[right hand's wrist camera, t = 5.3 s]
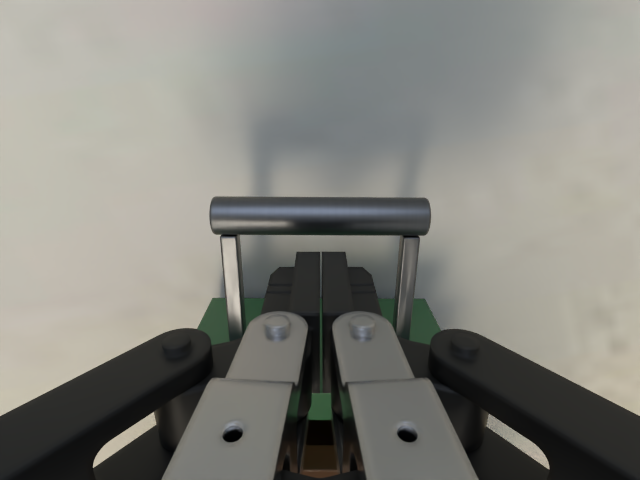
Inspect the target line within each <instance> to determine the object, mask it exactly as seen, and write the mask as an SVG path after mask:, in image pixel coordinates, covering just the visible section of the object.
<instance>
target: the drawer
mask: <svg viewBox="0 0 640 480" xmlns="http://www.w3.org/2000/svg"><path fill="white" fill-rule="evenodd" d="M430 223H431V209H430V204H429V201H428V199H426V198H376V197H214V198H213V199H212V201H211V205H210V225H211V229H212V232H213V233H214V234H216V235H221V237H220V242H221V253H222V265H223V276H224V287H225V298H212V300H211V302H210V304H209V306H208V308H207V310H206V312H205V314H204V316H203V318H202V320H201V322H200V324H199V326H198V328H197V329H198V330H201V331H203V332H205V333H206V334H208V336H209V337H210V339H211V345H215V344H220V343H224V342H229V341H233V340H236V339H239V338H241V337H243V336H244V333H245V331H246V329H247V326H248V325H249V323H250V322H251V321H252V320H253V319H254V318H256V317H258V316H260V314H261V311H262V307H263V303H264V299H265V298H244V288H243V274H242V260H241V245H240V235H400V244H399V255H398V267H397V279H396V290H395V299H378V301H379V305H380V309H381V312H382V316H383V317H384V318H386V319H387V320H388V321H389V322H390V323H391V325H392V326H393V329H394V331H395V333H396V335H398V336H400V337H402V338H404V339H407V340H410V341H414V342H419V343H424V344H429V345H430V342H431V339H432V337H433V336H434V335H435V334H436V333H438V332H440V331H441V330H440V328H439V326H438V324H437V322H436V320H435V318H434V316H433V314H432V312H431V310H430V308H429V306H428V304H427V302H426V300H425V299H414V290H415V280H416V271H417V261H418V252H419V243H420V237H419V236H424V235H426V234H427V233H428V231H429V228H430ZM306 445H334V440H333V433H332V425H331V393H323V380H322V298H320V393H312V403H311V408H310V410H309V425H308V433H307V440H306Z"/></svg>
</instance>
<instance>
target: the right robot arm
mask: <svg viewBox="0 0 640 480" xmlns="http://www.w3.org/2000/svg"><path fill="white" fill-rule="evenodd" d="M322 380H323V393H331V425H332V433H333V440H334V448H335V456H336V464H337V472H338V475H334V476H330V477H325V478H315V477H310V476H306V475H302V472H303V464H304V456H305V448H306V440H307V433H308V425H309V410H310V408H311V403H312V393H320V252H297V254H296V261H295V267H279V268H278V269H277V270H276V271H275V272H274V273H272V274H271V276H270V280H269V284H268V287H267V291H266V295H265V299H264V303H263V307H262V311H261V314H260V316H258V317H256V318H254V319H253V320H252V321H251V322H250V323H249V325H248V326H247V329H246V331H245V333H244V336H243V337H241V338H239V339H236V340H233V341H229V342H224V343H220V344H215V345H211V339H210V337H209V336H208V334H206V333H205V332H203V331H201V330H198V329H192V328H183V329H176V330H172V331H168V332H165V333H163V334H161V335H159V336H157V337H155V338H153V339H151V340H149V341H147V342H145V343H143V344H141V345H139V346H137V347H135V348H133V349H131V350H129V351H127V352H125V353H123V354H121V355H119V356H117V357H115V358H113V359H111V360H110V361H108V362H106V363H104V364H102V365H100V366H98V367H96V368H94V369H92V370H90V371H88V372H86V373H84V374H82V375H80V376H78V377H76V378H74V379H72V380H70V381H68V382H66V383H64V384H63V385H61V386H59V387H57V388H55V389H53V390H51V391H49V392H47V393H45V394H43V395H41V396H39V397H37V398H35V399H33V400H31V401H29V402H27V403H25V404H23V405H21V406H19V407H17V408H15V409H14V410H12V411H10V412H8V413H6V414H4V415H2V416H0V480H640V416H638V415H636V414H634V413H632V412H630V411H628V410H626V409H625V408H623V407H621V406H619V405H617V404H615V403H613V402H611V401H609V400H607V399H605V398H603V397H601V396H599V395H597V394H595V393H593V392H591V391H589V390H587V389H585V388H583V387H581V386H579V385H577V384H576V383H574V382H572V381H570V380H568V379H566V378H564V377H562V376H560V375H558V374H556V373H554V372H552V371H550V370H548V369H546V368H544V367H542V366H540V365H538V364H536V363H534V362H532V361H530V360H529V359H527V358H525V357H523V356H521V355H519V354H517V353H515V352H513V351H511V350H509V349H507V348H505V347H503V346H501V345H499V344H497V343H495V342H493V341H491V340H489V339H487V338H485V337H483V336H481V335H479V334H477V333H474V332H471V331H467V330H461V329H448V330H443V331H440V332H438V333H436V334H435V335H434V336H433V337H432V339H431V342H430V345H429V344H424V343H419V342H414V341H410V340H407V339H404V338H402V337H400V336H398V335H396V333H395V331H394V329H393V326H392V325H391V323H390V322H389V321H388V320H387V319H386V318H384V317H383V316H382V312H381V309H380V305H379V301H378V297H377V294H376V290H375V286H374V283H373V279H372V275H371V274H370V273H369V272H367V271H366V270H365V269H364V268H363V267H347V260H346V253H345V252H322ZM152 412H154V414H155V419H156V424H157V425H155V426H154V427H152V428H151V429H150V430H148V431H147V432H145V433H144V434H142V435H141V436H139V437H138V438H136V439H135V440H134V441H132V442H131V443H129V444H128V445H126V446H125V447H123V448H122V449H121V450H119V451H118V452H116V453H115V454H113V455H112V456H110V457H109V458H107V459H106V460H105V461H103V462H102V463H100V464H99V465H97V466H96V467H94V468H93V462H94V459H95V457H96V455H97V453H98V452H99V450H100V449H101V448H102V447H103V446H104V445H105V444H106V443H107V442H109V441H110V440H111V439H113V438H114V437H116V436H117V435H119V434H120V433H122V432H123V431H125V430H127V429H128V428H130V427H131V426H133V425H134V424H136V423H137V422H139V421H140V420H142V419H143V418H145V417H146V416H148V415H149V414H151V413H152ZM488 414H491V415H492V416H494V417H495V418H497V419H498V420H500V421H501V422H503V423H504V424H506V425H507V426H509V427H510V428H512V429H513V430H515V431H517V432H518V433H520V434H521V435H523V436H524V437H526V438H527V439H529V440H530V441H532V442H533V443H534V444H536V445H537V446H538V447H539V448H540V449H541V450H542V452H543V453H544V454H545V456H546V458H547V460H548V462H549V466H550V470H549V469H547V468H546V467H544V466H543V465H541V464H540V463H538V462H537V461H535V460H534V459H533V458H531V457H530V456H528V455H527V454H525V453H524V452H522V451H521V450H519V449H518V448H517V447H515V446H514V445H512V444H511V443H509V442H508V441H506V440H505V439H504V438H502V437H501V436H499V435H498V434H496V433H495V432H493V431H492V430H490V429H489V428H488V427H486V424H487V419H488Z"/></svg>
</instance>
